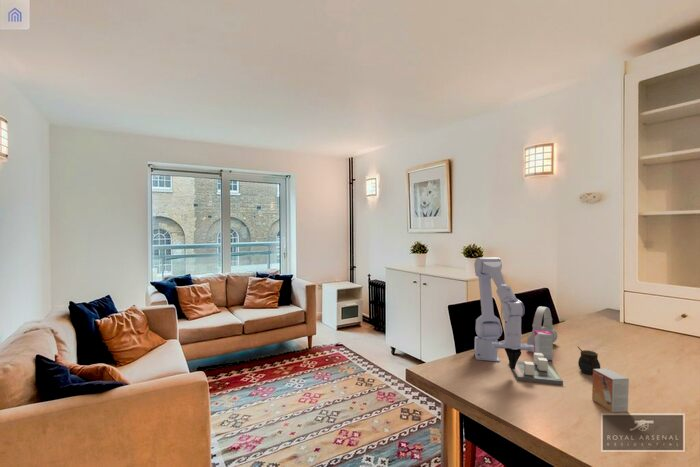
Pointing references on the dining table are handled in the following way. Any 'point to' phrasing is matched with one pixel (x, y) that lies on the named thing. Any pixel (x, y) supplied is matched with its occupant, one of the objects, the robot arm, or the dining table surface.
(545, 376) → the breaker panel
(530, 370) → the block
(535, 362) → the handle
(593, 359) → the mate gourd
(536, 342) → the supplement box
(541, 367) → the handle
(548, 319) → the headphones
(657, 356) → the dining table surface
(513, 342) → the robot arm
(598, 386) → the small box
